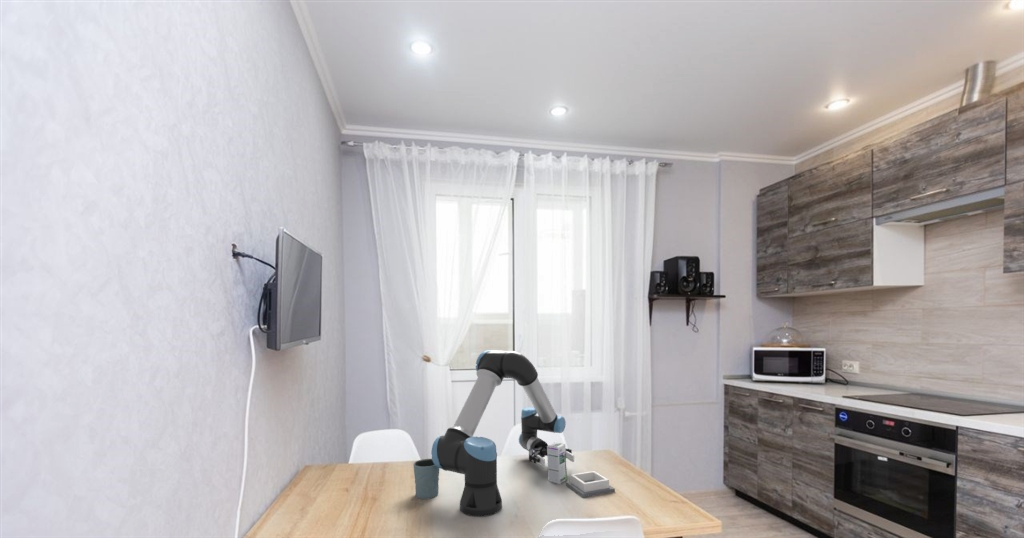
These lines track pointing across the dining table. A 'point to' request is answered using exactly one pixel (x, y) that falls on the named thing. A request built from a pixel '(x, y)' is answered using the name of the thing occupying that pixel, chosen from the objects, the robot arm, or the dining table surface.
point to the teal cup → (426, 479)
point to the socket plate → (589, 484)
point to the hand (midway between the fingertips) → (559, 460)
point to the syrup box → (556, 463)
